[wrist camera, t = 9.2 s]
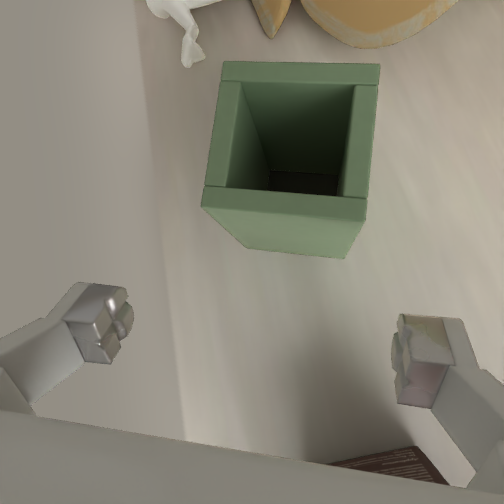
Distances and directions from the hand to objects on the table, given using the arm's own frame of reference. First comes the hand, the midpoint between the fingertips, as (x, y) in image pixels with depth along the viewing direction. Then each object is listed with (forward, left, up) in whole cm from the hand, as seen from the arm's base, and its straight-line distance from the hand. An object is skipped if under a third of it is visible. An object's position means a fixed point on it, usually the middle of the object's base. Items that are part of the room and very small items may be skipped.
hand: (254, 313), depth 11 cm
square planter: (0, -6, -10) cm, 12 cm away
